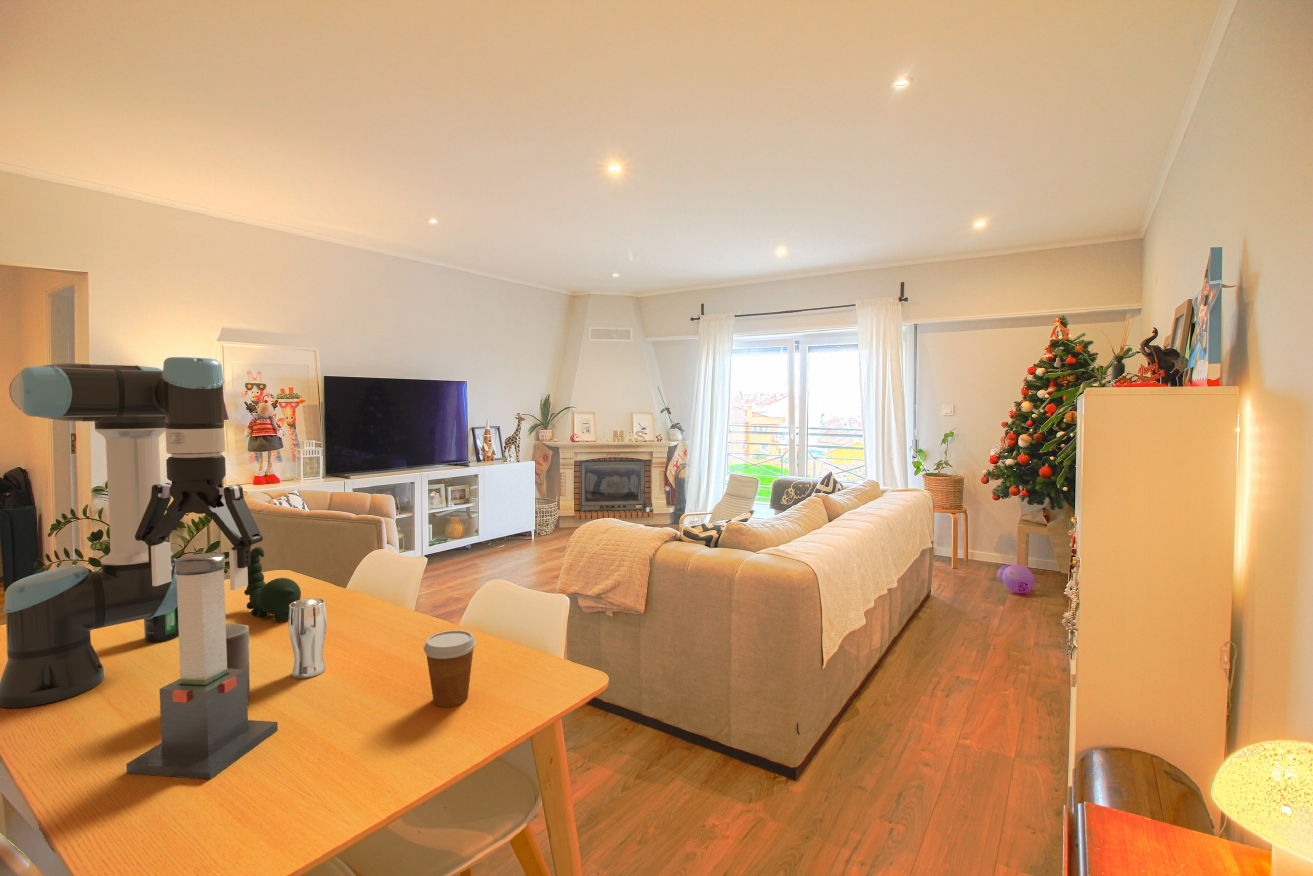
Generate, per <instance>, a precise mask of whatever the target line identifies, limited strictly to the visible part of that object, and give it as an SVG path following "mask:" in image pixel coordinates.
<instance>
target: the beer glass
mask: <svg viewBox="0 0 1313 876" xmlns="http://www.w3.org/2000/svg"><path fill="white" fill-rule="evenodd" d="M327 624H328V623H327V609H326V600H325V599H324V598H319V597H311V598H303V599H302V598H301V599H300V600H298V601H295V602H293V603H291V604H290V605H289V620H288V634H289V638H290V642H291V643H290V644H291V647H292V652H293V658H294V659H293V668H292V674H291V675H292V677H293V678H295V679H301V680H302V679H311V678H314V677H317V676H319V675H322V674H323V673H324V672H325V671H326V664H325V660H324V645H325V639H326V633H327Z"/></svg>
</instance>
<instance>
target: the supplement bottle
mask: <svg viewBox="0 0 1313 876" xmlns="http://www.w3.org/2000/svg"><path fill="white" fill-rule="evenodd" d="M143 628H144V629H143V630H144V631H143V632H144V640H145V642H146V643H151V642H155V643H163V642H168V641H171V640H173V639H177V638H179V626H178V606H177V607H176V608H175V609H174V610H173V611H172V612H170V613H167V614H163V615H159V616H155V617H153V618H151V619H143ZM167 640H168V641H167ZM162 641H163V642H162Z"/></svg>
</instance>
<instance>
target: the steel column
mask: <svg viewBox="0 0 1313 876" xmlns="http://www.w3.org/2000/svg"><path fill="white" fill-rule="evenodd" d="M225 556H226V555H225V553H221V552H207V553H206V552H205V553H204V552H203V553H197V554H196V553H195V554H191V555H185V556H182V557H179V558H175V559H176V560H175V574H177V600H178V626H179V636H178V646H179V647H178V648H179V672H180V678H179V679H180V685H184V686H202V687H206V686H208V685H210V684H211V683H213V682H215V681H217V680H219V679H221V678H222V677H224V676H226V675H227V674H228V668H227V650H226V621H227V620H226V597H225V595H226V593H225V567H226V561H225V560H226V559H225Z"/></svg>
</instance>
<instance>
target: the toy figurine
mask: <svg viewBox="0 0 1313 876" xmlns="http://www.w3.org/2000/svg"><path fill="white" fill-rule="evenodd" d="M260 557H261V558H264V557H265V550H264V548H262V547H259V546H256V547H253V548H252V549H251V564H250V566H248V567H247V569H248V585H247V586H246V589H245V590H244V592H243V593H244V595H245V596H249V598H248V600H249V601H248V602H247V603H246V608H247V609H248V610H251V612H250V614H251V616H253V617H256V616H257V617H258V618H259V619H264V618H266V617H267V616H268V615H273V620H274V621H275V622H277V623H283V622H286V621H289V605H290V604H291V603H293V602H295V601H298V600H301V599H302V597H301V596H302V591H301V587H300V586H299V584H297V582H296V581H295V580H292V579H290V578H287V577H278V578H277V577H276V578H274V579H271V580H270V581H268V582H265V581H264V580H265V575H264V573H263V572H262V570H263V566H262V564H261V558H260Z"/></svg>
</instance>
